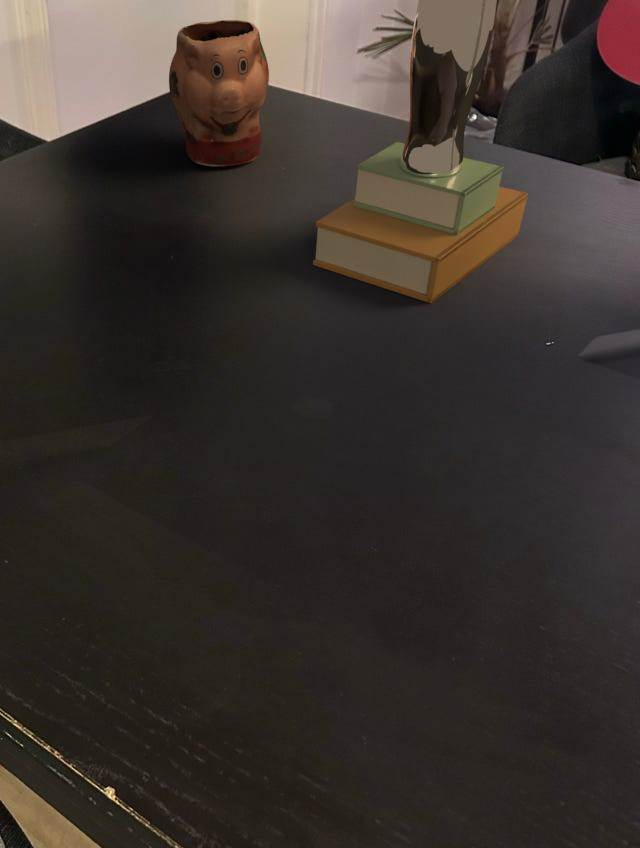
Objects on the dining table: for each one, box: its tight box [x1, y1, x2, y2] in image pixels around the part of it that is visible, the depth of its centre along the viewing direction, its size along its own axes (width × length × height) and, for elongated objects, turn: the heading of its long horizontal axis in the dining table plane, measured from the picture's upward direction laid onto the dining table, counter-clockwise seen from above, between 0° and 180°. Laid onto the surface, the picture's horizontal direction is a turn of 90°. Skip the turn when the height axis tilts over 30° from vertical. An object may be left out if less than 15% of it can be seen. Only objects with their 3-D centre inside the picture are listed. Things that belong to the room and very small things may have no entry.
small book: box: [353, 141, 504, 235], centre depth 91 cm, size 12×8×4 cm, turn 49°
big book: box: [312, 185, 529, 304], centre depth 94 cm, size 14×18×4 cm
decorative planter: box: [168, 19, 270, 167], centre depth 112 cm, size 20×12×14 cm, turn 13°
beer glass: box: [400, 0, 498, 178], centre depth 84 cm, size 7×7×15 cm
